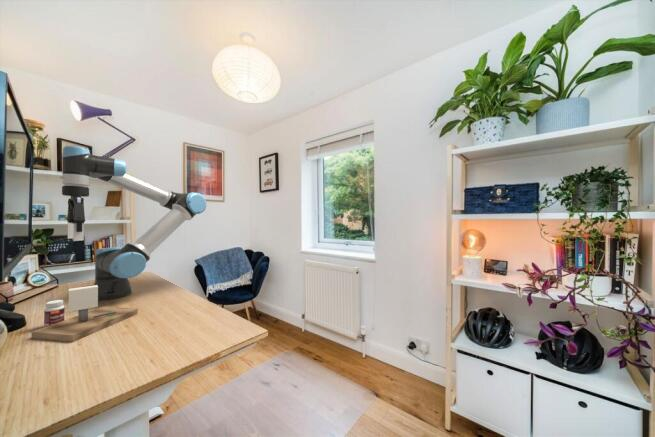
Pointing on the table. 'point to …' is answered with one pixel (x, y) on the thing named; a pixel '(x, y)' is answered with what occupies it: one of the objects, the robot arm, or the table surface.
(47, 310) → the pill bottle
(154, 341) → the table surface
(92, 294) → the white boxy piece
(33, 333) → the board
